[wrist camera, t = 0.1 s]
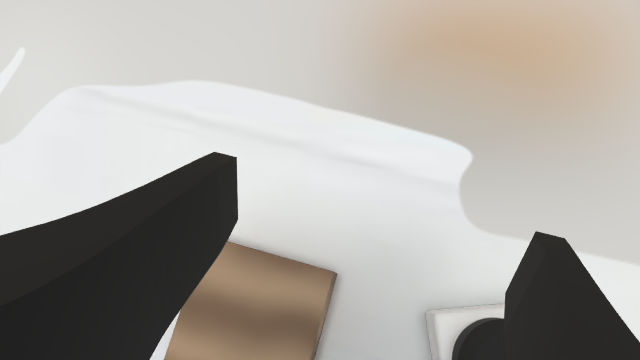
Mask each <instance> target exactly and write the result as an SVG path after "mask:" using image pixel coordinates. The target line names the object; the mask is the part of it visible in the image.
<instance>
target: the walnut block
mask: <svg viewBox="0 0 640 360" xmlns="http://www.w3.org/2000/svg"><path fill="white" fill-rule="evenodd" d="M336 276H337V274H336V273H335V272H332V271H329V270H325V269H322V268H318V267H315V266H311V265H308V264H304V263H301V262H297V261H294V260H290V259H287V258H283V257H280V256H276V255H273V254H269V253H266V252H262V251H259V250H255V249H252V248H248V247H245V246H241V245H238V244H235V243H231V242H228V241H227V242H226V244H225V246H224V248H223V249H222V251H221V253H220V254H219V256H218V257H217V259H216V260H215V262H214V263H213V264H212V266H211V267H210V269H209V270H208V272H207V273H206V274H205V276H204V277H203V279H202V280H201V281H200V283H199V284H198V286H197V287H196V288H195V290H194V291H193V293H192V294H191V295H190V297H189V298H188V300H187V301H186V302H185V304H184V305H183V307H182V308H181V311H180V314H179V317H178V320H177V323H176V326H175V328H174V331H173V334H172V337H171V340H170V343H169V346H168V349H167V352H166V355H165V358H164V360H314V357H315V354H316V350H317V346H318V343H319V339H320V335H321V332H322V328H323V324H324V321H325V317H326V313H327V309H328V306H329V302H330V298H331V295H332V291H333V287H334V284H335V280H336Z"/></svg>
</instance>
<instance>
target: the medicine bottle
mask: <svg viewBox="0 0 640 360" xmlns="http://www.w3.org/2000/svg"><path fill="white" fill-rule="evenodd" d="M504 308H505V303H503V304H492V305H482V306H471V307H460V308H449V309H438V310H429V311H427V312H426V321H427V328H428V335H429V342H430V349H431V355H432V360H505V351H504V337H503V327H504Z"/></svg>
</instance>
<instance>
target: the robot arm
mask: <svg viewBox="0 0 640 360" xmlns="http://www.w3.org/2000/svg"><path fill="white" fill-rule="evenodd" d="M237 220H238V198H237V157H233V156H229V155H225V154H221V153H217V152H213V153H211V154H208V155H206V156H204V157H202V158H199V159H197V160H195V161H193V162H191V163H189V164H187V165H185V166H183V167H181V168H179V169H177V170H175V171H173V172H171V173H169V174H167V175H164V176H162V177H160V178H158V179H156V180H154V181H152V182H150V183H148V184H146V185H144V186H141V187H139V188H137V189H134V190H132V191H130V192H127V193H125V194H123V195H120V196H118V197H116V198H113V199H111V200H109V201H106V202H104V203H102V204H99V205H97V206H94V207H91V208H89V209H86V210H83V211H81V212H78V213H75V214H72V215H69V216H66V217H63V218H60V219H57V220H54V221H51V222H48V223H44V224H40V225H37V226H33V227H30V228H26V229H22V230H19V231H15V232H12V233H8V234H4V235H1V236H0V360H149V359H150V358H151V356H152V354H153V352H154V350H155V349H156V347H157V345H158V343H159V342H160V340H161V338H162V336H163V335H164V333H165V332H166V330H167V329H168V327H169V325H170V324H171V322H172V321H173V319H174V318H175V316H176V315H177V314H178V312H179V311H180V309H181V308H182V307H183V305H184V304H185V302H186V301H187V300H188V298H189V297H190V295H191V294H192V293H193V291H194V290H195V288H196V287H197V286H198V284H199V283H200V281H201V280H202V279H203V277H204V276H205V274H206V273H207V272H208V270H209V269H210V267H211V266H212V264H213V263H214V262H215V260H216V259H217V257H218V256H219V254H220V253H221V251H222V249H223V248H224V246H225V244H226V242H227V240H228V238H229V236H230V234H231V232H232V230H233V228H234V226H235V224H236V222H237ZM503 337H504V351H505V360H640V342H639V341H638V339H637V338H636V337H635V336H634V334H633V333H632V332H631V330H630V329H629V328H628V327H627V325H626V324H625V323H624V321H623V320H622V319H621V317H620V316H619V315H618V313H617V312H616V311H615V309H614V308H613V306H612V305H611V304H610V302H609V301H608V300H607V298H606V297H605V295H604V294H603V293H602V291H601V290H600V288H599V287H598V285H597V284H596V283H595V281H594V280H593V278H592V277H591V275H590V274H589V272H588V271H587V269H586V268H585V267H584V265H583V264H582V262H581V261H580V259H579V258H578V256H577V255H576V253H575V252H574V250H573V249H572V248H571V246H570V245H569V243H568V242H567V241H566V239H565V238H561V237H557V236H553V235H549V234H545V233H541V232H535V234H534V236H533V238H532V240H531V242H530V244H529V246H528V248H527V250H526V252H525V254H524V256H523V258H522V260H521V262H520V264H519V266H518V268H517V270H516V272H515V274H514V277H513V279H512V281H511V283H510V285H509V287H508V289H507V291H506V293H505V308H504V327H503Z"/></svg>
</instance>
